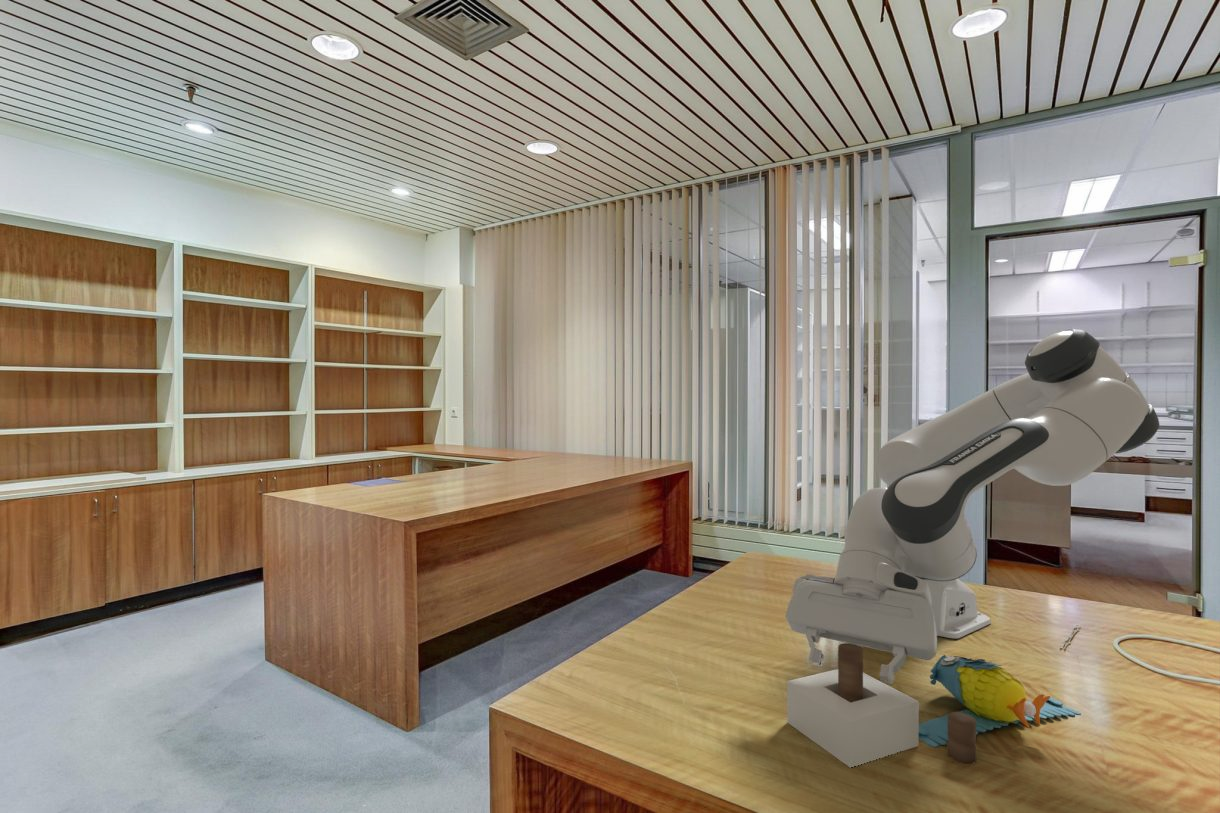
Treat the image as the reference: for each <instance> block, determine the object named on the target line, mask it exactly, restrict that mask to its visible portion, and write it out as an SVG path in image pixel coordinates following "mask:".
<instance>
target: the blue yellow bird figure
mask: <svg viewBox="0 0 1220 813" xmlns="http://www.w3.org/2000/svg"><path fill="white" fill-rule="evenodd" d="M1001 666H1002V664H998V663H996V662H992V661H991V662H990V661H986V659H982V658H979V659H972V658H970V657H969V658H967V657H965V656H956V655H955V656H946V654H943V655H942V656H941V657H940V658H939V659H938V660H937V661H936V662H935V664H934V665H933V666H932V668H931V670H930V673H931V674H930V675H929V679H931V680H930V684H931V685H933V686H935V685H936V684H937V682H938V683H941V685H942V686H943V687H944V688H945V689H946V690H947V691H948V692H949V693H950V694H951V695H952V696H954V698H955V699H957V701H959V702H960V704H962V705H963V706H964V707H965V708H966V709H964V710H961V711H959V712H960V713H964V714H967V715H970V716H972V717H973V718H974V719H975V720H976V735H978V734H979V732H980V733H986V731H992V730H994V729H1000V728H1002V727H1007V726H1009V724H1010V723H1011V724H1018V723H1022V724H1023V725H1024V726H1025V727H1026V728H1027V729H1029V728H1031V727H1030V724H1029V722H1032V721H1036V724H1037V725H1038V726H1041V719H1048V718H1055V717H1062V716H1067V717H1068V716H1071V717H1072V716H1073V717H1076V715H1078V716H1079V715H1082V713H1081V712H1080V711H1077V710H1075V709H1073V708H1071V707H1068V706H1065V705H1063V702H1062V701H1060V700H1058V699H1056V698H1053V697H1051V695H1046V696H1045V694H1044V693H1043V694H1038V695H1037V696H1036V697H1035V698H1033V700H1028V698H1027V694H1026V691H1025V688H1024V686H1023V684H1022V683H1021V681H1019V680H1018V679H1017V678H1015V677H1014V676H1013V675H1012V674H1011V673H1009V672H1008V671H1006V669H1005V668H1003V667H1001ZM919 739H920V740H921V741H923V742H924V743H925V744H927V745H928V746H930V747H931V748H938V746H939V745H940V746H948V714H945V715H942V716H938V717H936V718H931V719H929V720H926V721H923V722H921V723H920V722H919Z"/></svg>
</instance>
